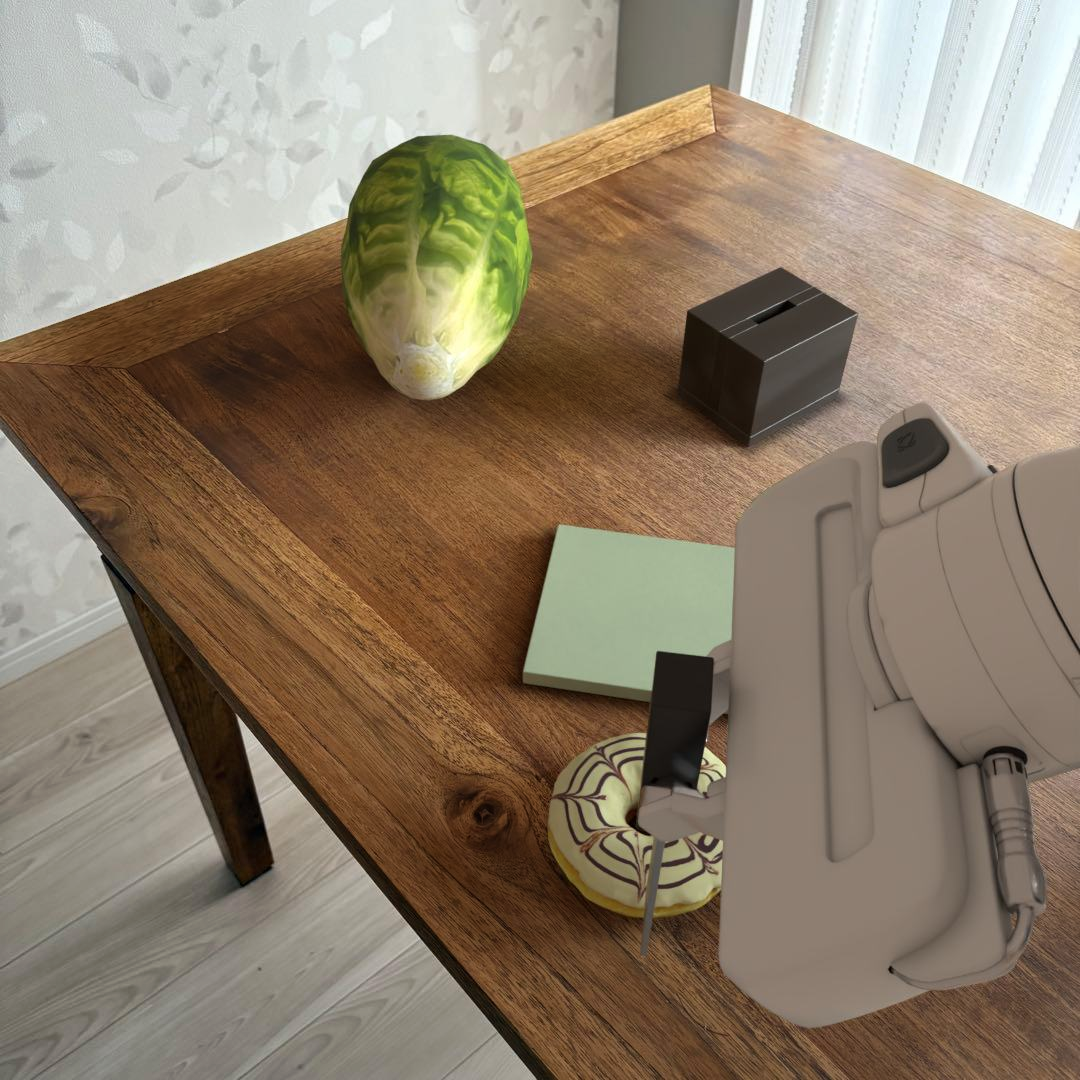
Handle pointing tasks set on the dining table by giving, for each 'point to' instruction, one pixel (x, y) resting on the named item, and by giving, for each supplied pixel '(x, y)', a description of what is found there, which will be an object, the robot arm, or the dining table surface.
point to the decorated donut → (627, 834)
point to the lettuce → (435, 262)
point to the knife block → (764, 354)
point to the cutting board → (626, 609)
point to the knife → (674, 741)
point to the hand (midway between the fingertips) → (654, 771)
